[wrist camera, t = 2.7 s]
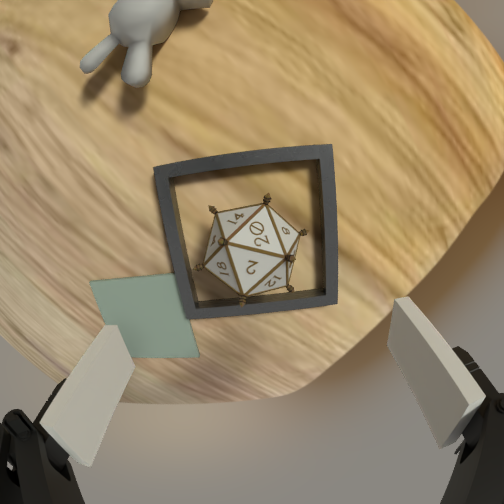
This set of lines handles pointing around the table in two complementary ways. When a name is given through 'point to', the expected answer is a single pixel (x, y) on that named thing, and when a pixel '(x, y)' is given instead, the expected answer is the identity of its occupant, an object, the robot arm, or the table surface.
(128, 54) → the grey teddy bear
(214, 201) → the table surface
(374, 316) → the table surface
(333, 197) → the socket frame
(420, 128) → the table surface
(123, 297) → the pad
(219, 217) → the game die
